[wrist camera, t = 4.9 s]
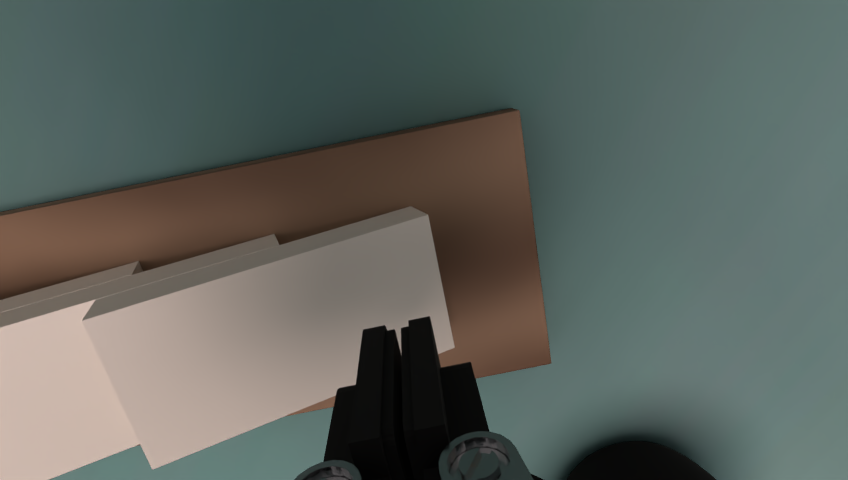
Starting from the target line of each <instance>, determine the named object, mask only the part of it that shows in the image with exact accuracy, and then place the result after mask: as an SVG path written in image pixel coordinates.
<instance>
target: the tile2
mask: <svg viewBox="0 0 848 480" xmlns="http://www.w3.org/2000/svg"><path fill="white" fill-rule="evenodd" d="M278 245H279V243H278V241H277V239H276V236H275V234H272V235H268V236H265V237H261V238H258V239H254V240H251V241H247V242H244V243H241V244H237V245H234V246H230V247H227V248H223V249H220V250H216V251H213V252H209V253H206V254H203V255H199V256H196V257H192V258H189V259H185V260H182V261H178V262H175V263H171V264H168V265H165V266H161V267H158V268H154V269H151V270H147V271H144V272H140V273H137V274H133V275H130V276H127V277H123V278H120V279H116V280H113V281H109V282H106V283H102V284H99V285H95V286H92V287H89V288H85V289H82V290H78V291H75V292H71V293H68V294H64V295H61V296H57V297H54V298H50V299H47V300H44V301H40V302H37V303H33V304H30V305H26V306H23V307H19V308H16V309H12V310H9V311H6V312H2V313H0V480H48V479H51V478H54V477H56V476H59V475H61V474H64V473H67V472H69V471H72V470H74V469H77V468H79V467H82V466H85V465H87V464H90V463H92V462H95V461H97V460H100V459H103V458H105V457H108V456H110V455H113V454H116V453H118V452H121V451H123V450H126V449H128V448H131V447H134V446H136V445H139V444H140V443H139V440H138V438H137V436H136V434H135V432H134V430H133V428H132V426H131V424H130V422H129V419H128V417H127V415H126V413H125V411H124V409H123V407H122V405H121V403H120V401H119V398H118V396H117V394H116V392H115V390H114V388H113V386H112V384H111V382H110V380H109V377H108V375H107V373H106V371H105V369H104V367H103V365H102V363H101V361H100V359H99V356H98V354H97V352H96V350H95V348H94V346H93V344H92V342H91V340H90V338H89V335H88V333H87V331H86V329H85V327H84V325H83V323H82V319H83V318H84V316H85V315H86V313H87V312H88V310H89V309H90V307H91V306H92V304H93V303H94V301H95V300H96V299H100V298H103V297H107V296H110V295H113V294H117V293H120V292H123V291H127V290H130V289H134V288H137V287H140V286H144V285H147V284H150V283H154V282H157V281H160V280H164V279H167V278H171V277H174V276H177V275H181V274H184V273H187V272H191V271H194V270H197V269H201V268H204V267H208V266H211V265H214V264H218V263H221V262H224V261H228V260H231V259H235V258H238V257H241V256H245V255H248V254H251V253H255V252H258V251H261V250H265V249H268V248H272V247H275V246H278Z"/></svg>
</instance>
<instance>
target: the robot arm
mask: <svg viewBox="0 0 848 480" xmlns="http://www.w3.org/2000/svg"><path fill="white" fill-rule="evenodd" d="M294 480H543V479H541V478H539V477H537V476H534V475H532V474H530V472H529V471H528V469H527V467H526V465H525V463H524V461H523V460H522V458H521V456H520V454H519V452H518V451H517V449H516V447H515V446H514V445H513V444H512V442H511V441H510V440H509V439H507V438H505V437H504V436H502V435H500V434H497V433H493V432H489V429H488V425H487V421H486V417H485V414H484V410H483V406H482V402H481V398H480V394H479V391H478V387H477V383H476V379H475V375H474V372H473V368H472V364H471V362H466V363H461V364H456V365H451V366H446V367H441V365H440V360H439V356H438V351H437V346H436V342H435V337H434V332H433V328H432V323H431V319H430V316H428V317H423V318H418V319H413V320H408V326H407V327H403V328H401V352H400V348H399V344H398V339H397V335H396V332H395V329H393V330H388V331H387V328H386V326H385V325H383V326H378V327H373V328H368V329H363V332H362V340H361V347H360V355H359V363H358V371H357V378H356V385H351V386H346V387H341V388H339V389H337V393H336V397H335V403H334V408H333V413H332V419H331V424H330V429H329V435H328V440H327V445H326V451H325V456H324V462H321V463H319V464H316V465H314V466H312V467H310V468H308V469H307V470H305V471H304V472H302V473H301V474H299V475H298V476H297V477H296V478H295V479H294Z"/></svg>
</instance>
